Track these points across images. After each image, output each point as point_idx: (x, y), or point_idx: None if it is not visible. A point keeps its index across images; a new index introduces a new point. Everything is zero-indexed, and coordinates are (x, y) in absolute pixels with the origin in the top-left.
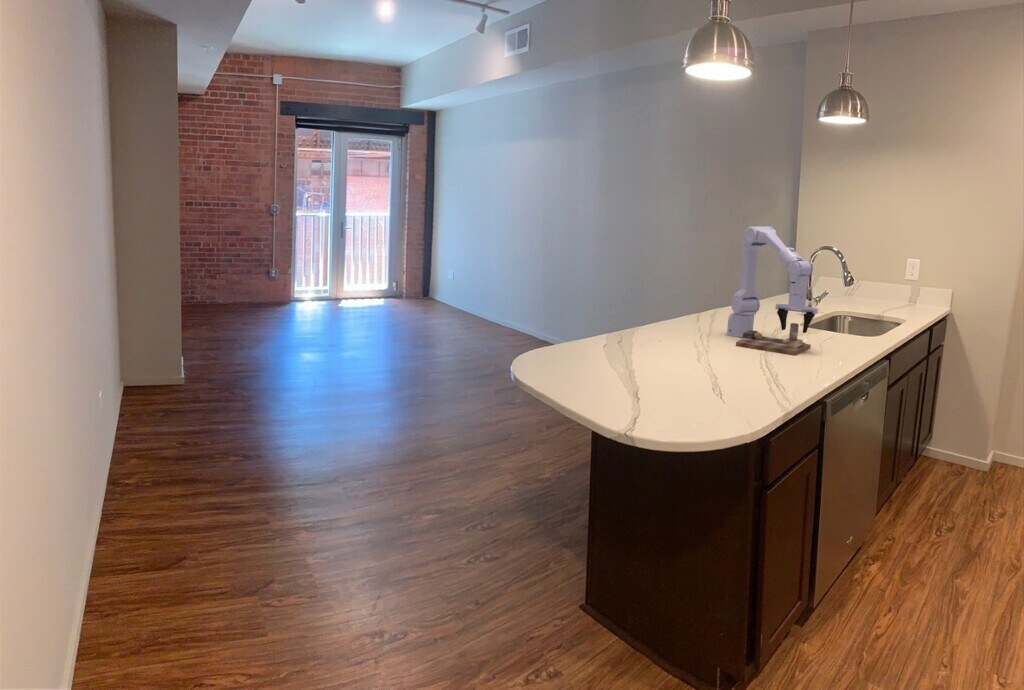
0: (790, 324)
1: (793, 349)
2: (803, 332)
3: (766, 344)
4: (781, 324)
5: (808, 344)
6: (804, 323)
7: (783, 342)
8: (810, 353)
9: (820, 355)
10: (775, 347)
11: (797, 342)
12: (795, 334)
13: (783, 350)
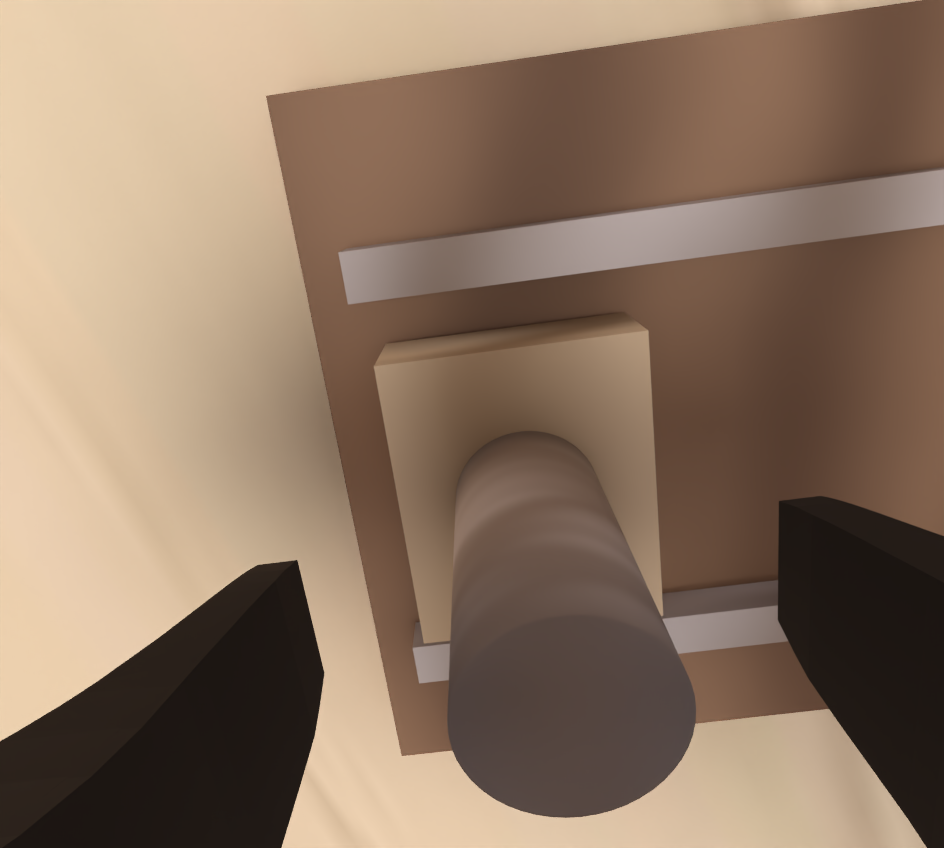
0: (672, 644)
1: (374, 217)
2: (279, 565)
3: (880, 175)
4: (925, 537)
5: (420, 733)
6: (153, 695)
7: (627, 325)
8: (259, 477)
9: (109, 469)
10: (667, 101)
11: (379, 390)
12: (468, 510)
13: (489, 68)
